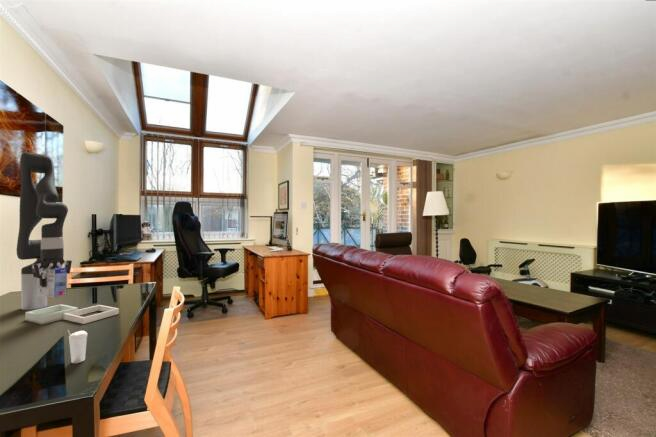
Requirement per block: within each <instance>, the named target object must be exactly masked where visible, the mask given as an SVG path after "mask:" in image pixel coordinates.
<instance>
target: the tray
mask: <svg viewBox="0 0 656 437" xmlns="http://www.w3.org/2000/svg"><path fill="white" fill-rule="evenodd" d="M76 310H79V307H77V306H73V305H67V304H56V305H52V306H48V307H47V306H46V307H43V308H39V309H32V310H28V311H25V315H24V316H25V321H26V322H27V321H28V322H31V323H35V324H39V325H46V324H50V323H53V322H58V321H61V320H64V319H63V313H67V312H72V311H76Z"/></svg>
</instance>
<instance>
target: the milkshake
mask: <svg viewBox="0 0 656 437" xmlns="http://www.w3.org/2000/svg"><path fill="white" fill-rule="evenodd" d="M67 333H68V335H69V336H68V341H69V352H70V361H71V363H72V364H79V363H82V362H84V361H85V360H86V351H87V342H88V332H87V331H85V330H79V331H75V332H72V333H71V331H70V330H69V329H67Z"/></svg>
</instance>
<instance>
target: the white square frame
mask: <svg viewBox="0 0 656 437" xmlns="http://www.w3.org/2000/svg"><path fill="white" fill-rule="evenodd" d="M98 311H99V312H100V313H95V314H91V315H87V314H90V313H94V312H98ZM83 315H87V316H83ZM117 315H120V308H118V307H114V306H108V305H104V304H103V305H102V304H96V305H93V306H92V305H91V306H89V307H84V308H80V309H78V310H76V311H72V312H67V313H63V319H62V320H65V321H69V322H73V323H77V324H83V325H85V324H89V323H92V322H95V321H98V320H102V319H105V318H110V317H112V316H117Z"/></svg>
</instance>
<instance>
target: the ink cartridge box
mask: <svg viewBox="0 0 656 437" xmlns="http://www.w3.org/2000/svg"><path fill="white" fill-rule="evenodd" d="M42 269H43V268H41V269H39V273H40V274H41V271H42ZM43 271H45V269H43ZM67 276H68V274H67V268H65V267H62V268H57V265H56V267H55V268H51V269H49V273H48V274H47V275H46V277H45V278H46V287H41V286H40V279H39V278H38V288H37V296H43V297H47V298H56V297H57V298H58V297H62V296H66V295H67V292H68V291H67V288H68V287H67V284H68V281H67V280H68V277H67Z"/></svg>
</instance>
